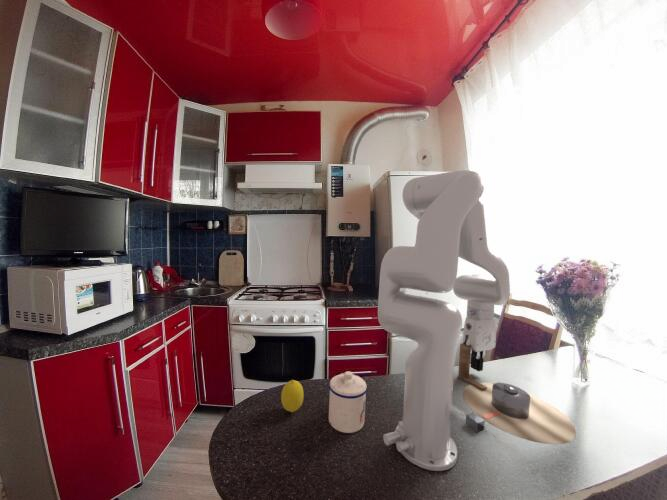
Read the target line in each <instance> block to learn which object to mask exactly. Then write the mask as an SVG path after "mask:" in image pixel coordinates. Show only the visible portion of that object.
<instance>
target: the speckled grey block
mask: <svg viewBox="0 0 667 500" xmlns="http://www.w3.org/2000/svg"><path fill="white" fill-rule="evenodd" d="M465 425H466V426H467V427H469V428H470V430H472V431H473V432H474V433H476V434H478V433H481V432H483V431H484V430H485V426H484V425H485V420H484V419H482V418H481V417H480V416H478V415H477V414H476V413H475V412H474V411H472V412H469V413H466V414H465Z"/></svg>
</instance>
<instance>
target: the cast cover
mask: <svg viewBox="0 0 667 500" xmlns="http://www.w3.org/2000/svg"><path fill="white" fill-rule="evenodd" d="M528 393H529V392H526V391H525V390H524V389H522V388H520V387H518V386H515V385H513V384H510V383H505V382H496V383H495V384H493V387H492V402H491V403H492V405H493V407H494V408H495V409H496V410H498V411H499V412H501V413H502V414H504V415H507V416H509V417H512V418H516V419H526V418H528V417H529V409H530V396H529V394H528Z"/></svg>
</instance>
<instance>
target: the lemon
mask: <svg viewBox="0 0 667 500" xmlns="http://www.w3.org/2000/svg"><path fill="white" fill-rule="evenodd" d="M281 390H282V391H281V395H280V401H281V405H282V407H283V409H284V410H285V411H287V412H290V413H294V412H296V411H297V410H299V409H300V407H302V405H303V402H304V398H305V397H304V396H305V394H304V388H303V385H302V384H301V382H299V381H298V380H294V379H291V380H289V381H287V382H286V383H285V384H284V386H283V388H282V389H281Z"/></svg>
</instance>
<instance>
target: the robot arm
mask: <svg viewBox="0 0 667 500" xmlns="http://www.w3.org/2000/svg"><path fill="white" fill-rule="evenodd" d="M485 185H486V180H485V176H484V174H483V173H482V172H480V171H479V170H474V169H465V170H454V171H450V172H442V173H436V174H431V175H425V176H418V177H413V178H412V179H409V180H408V181H407V182H406V183H405V184H404V186H403V188H402V201H403V204H404V206H405V208H406V210H407V211H408V212H409V213H410V214H411V215H413V217H415V218H416V219H417V220H418V222H417V226H416V237H415V243H414V246H409V245H407V246H405V245H398V246H394V247H391V248H390V249H388V250H387V251H386V253H384V256H383V258H382V261H381V265H380V272H379V286H378V287H379V288H378V302H377V320H378V323H379V325H380V327H381V328H382V329H383V330H384V331H386V332H388V333H391V334H394V335H396V336H399V337H402V338H406V339H409V340H411V341H414V342H416V343H417V345H418V346H417V347H416V348H415V349H413V350H411V352H409V354H408V355H407V357H406V360H405V373H404V390H403V392H404V393H403V408H402V409H403V410H402V420H399V421H398V424H397V426H396V428H395V430H394V431H393V432H392V431H390V432H386V433H384V434H383V435H382V436H383V437H382V438H383V442H384V444H385V445H386V446H390V445H393V444H395V445H396V450H397V451H398V452H399V453H400V454H401V455H402V456H403V457H404V458H405V459H406V460H407V461H409V462H410V463H412V465H416V466H418V467H419V468H421V469H424V470H427V471H433V472H443V471H447V470H449V469H451V468H453V467H454V466H455V465H456V463H457V462H458V461H457V460H458V448H457V445H456V443H455V441H454V439H452V437H451V427H452V425H451V423H452V422H451V421H452V408H453V407H452V406H453V391H454V373H455V363H456V362H455V361H456V356H457V355H456V354H457V349H458V344H459V341H460V336H461V332H462V343H463V344H466V345H468V346H471V353H470V368H471V369H473V370H475V371H477V372H482V371H483V370H484V359H485V357H486V353H487V352H488V351H489V350H493V349H495V348H496V344H497V343H496V340H497V338H496V336H497V335H496V334H497V333H496V331H497V330H496V322H495V318H494V315H495V306H503V305H505V304H506V303H507V302H508V300H509V299H510V294H511V293H510V292H511V285H510V284H511V282H510V272H509V269H508V267H507V265H506V263H505V262H504V260H503V259H502V258H501V257H500V256H499V254H498V253H496V252H495V251H494V250H493V249H491V247H489V246H488V240H487V230H486V229H487V227H486V219H485V209H484V202H483V199H482V198H481V197H482V195H483V193H484V190H485ZM459 258H460V259H462V260H464V261H466V262H468V263H471V264H473V265H475V266H477V267H479V268H482V269H483V270H485V271H486V272H488V273H489V274H490V275H488V274H487V275H486V274H471V275H468V274H466V275H465V274H462V275H460V276H458V267H459ZM457 276H458V277H457ZM407 289H410V290H415V291H421V292H427V293H435V294H446V293H450V292H451V291H452V290H453V294H454V295H455V296H456V297H457V298H458V299H461V300H464V301H467V305H466V316H465V320H464V325H463V318H462V314H461V312H460V310H459V309H458V308H457V307H456V306H454V305H453V304H452V303H449V302H447V301H445V300H440V299H436V298H431V297H426V296H421V295H414V294H409V293H406V291H407ZM462 327H463V331H462Z"/></svg>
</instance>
